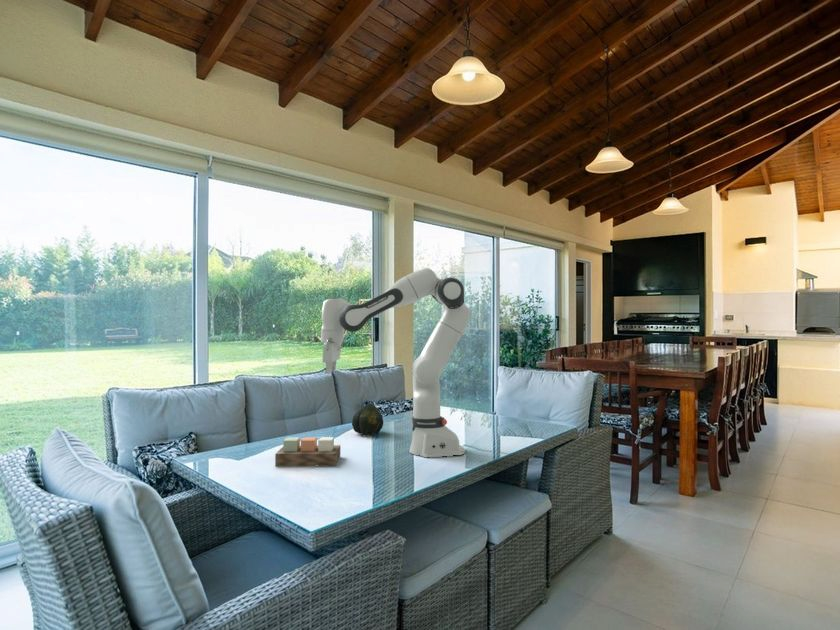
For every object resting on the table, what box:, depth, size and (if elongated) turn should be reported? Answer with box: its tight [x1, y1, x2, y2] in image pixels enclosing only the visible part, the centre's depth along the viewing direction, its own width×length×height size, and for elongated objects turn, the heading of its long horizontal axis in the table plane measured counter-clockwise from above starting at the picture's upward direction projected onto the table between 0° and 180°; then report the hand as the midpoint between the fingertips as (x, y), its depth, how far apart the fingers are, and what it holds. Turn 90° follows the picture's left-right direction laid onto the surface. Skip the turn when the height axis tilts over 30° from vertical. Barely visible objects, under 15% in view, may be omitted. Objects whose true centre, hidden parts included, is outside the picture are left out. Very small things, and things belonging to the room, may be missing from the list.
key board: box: [274, 444, 341, 467], centre depth 186 cm, size 22×12×4 cm, turn 91°
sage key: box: [282, 436, 301, 452], centre depth 186 cm, size 5×5×5 cm
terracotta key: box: [300, 436, 318, 451], centre depth 186 cm, size 5×5×5 cm
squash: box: [351, 402, 384, 437], centre depth 231 cm, size 14×15×15 cm
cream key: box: [317, 436, 335, 451], centre depth 186 cm, size 5×5×5 cm
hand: (330, 372), depth 196 cm, fingers open, 8 cm apart
